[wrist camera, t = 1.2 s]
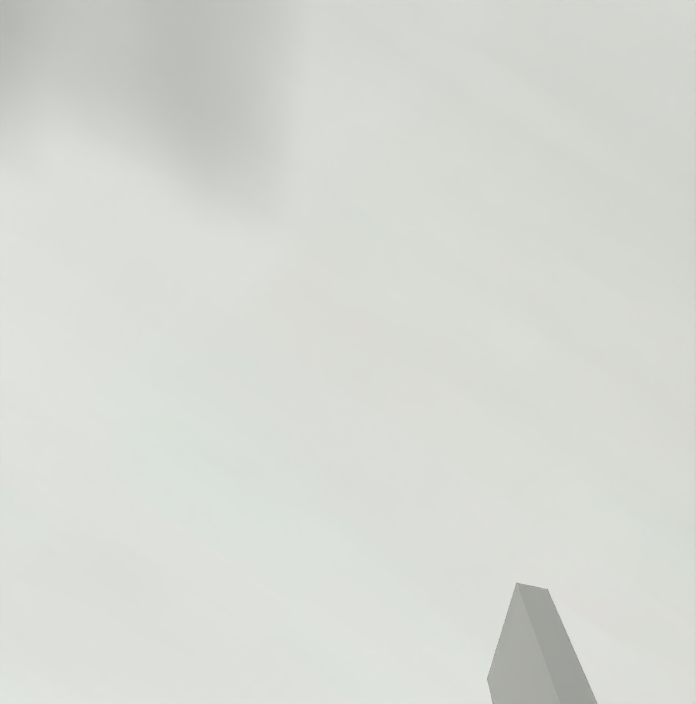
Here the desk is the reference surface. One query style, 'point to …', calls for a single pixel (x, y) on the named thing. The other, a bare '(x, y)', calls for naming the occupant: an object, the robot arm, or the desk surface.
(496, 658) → the robot arm
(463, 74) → the desk surface
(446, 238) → the desk surface
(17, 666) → the desk surface
